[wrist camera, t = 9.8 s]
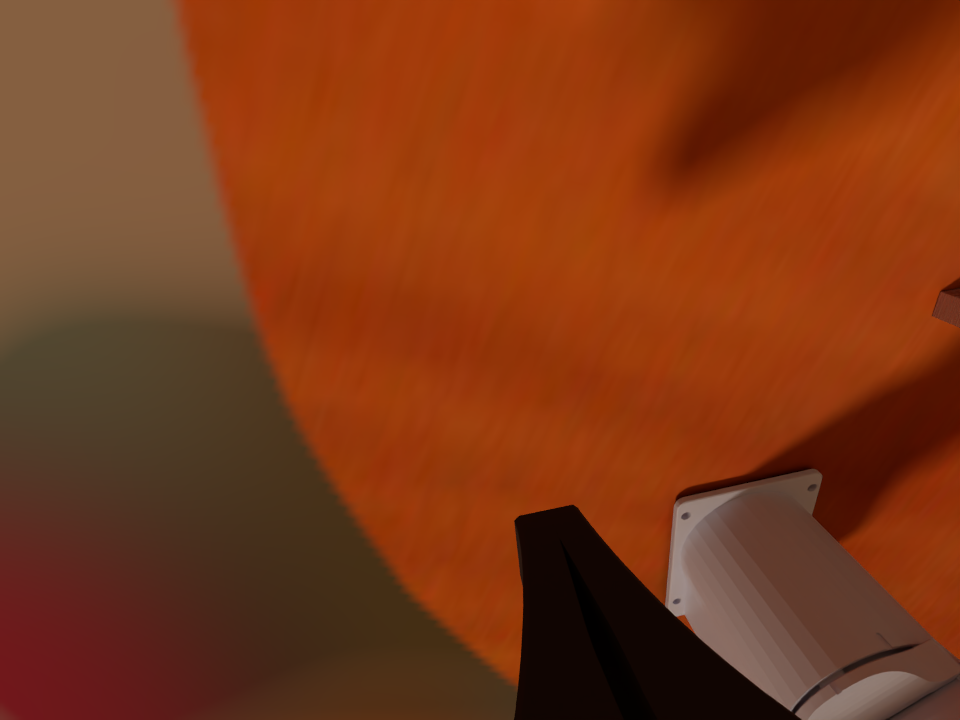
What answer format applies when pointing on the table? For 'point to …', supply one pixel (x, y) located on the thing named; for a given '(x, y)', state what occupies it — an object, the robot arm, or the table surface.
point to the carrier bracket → (948, 307)
